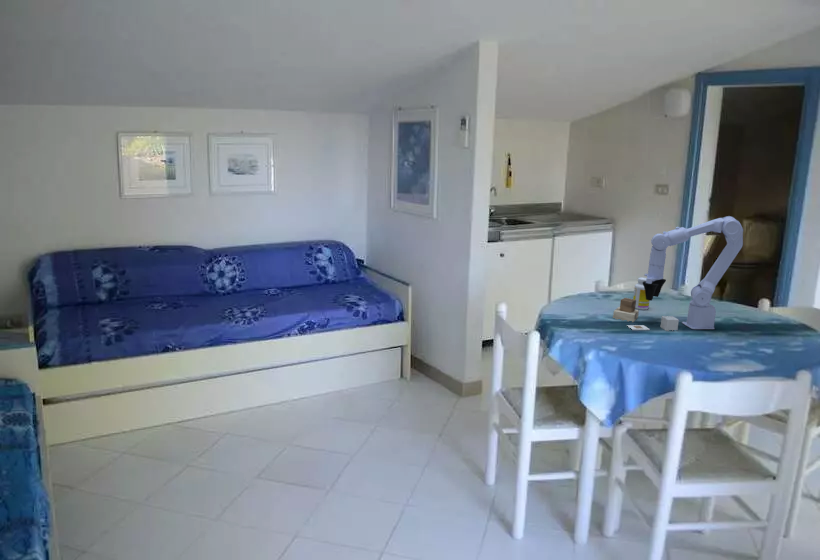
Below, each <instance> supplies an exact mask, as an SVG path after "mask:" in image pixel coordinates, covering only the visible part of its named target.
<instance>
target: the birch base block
mask: <svg viewBox="0 0 820 560" xmlns="http://www.w3.org/2000/svg"><path fill="white" fill-rule="evenodd" d="M639 310H640V309H635V311H633V312H631V313H629V312H624V311H620V306H618V307H616V309H614V311H613V314H612V319H613V318H615V319H614V320H618V319H621V320H620V321H624V320H627V321H626V322H629V321H632V322H631V323H635V321H636V320H637V319H638V318H639V314H640V313H639V312H640V311H639Z"/></svg>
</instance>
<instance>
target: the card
mask: <svg viewBox="0 0 820 560" xmlns="http://www.w3.org/2000/svg"><path fill="white" fill-rule="evenodd" d="M627 326H628V327H627ZM626 327H627V328H629V329H630V328H631V329H632V331H650V328H648V327H647V326H646V325H643V324H642V325H640V324H639V325H638V324H635V325H634V324H630V325H626ZM631 329H630V330H631Z"/></svg>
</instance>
